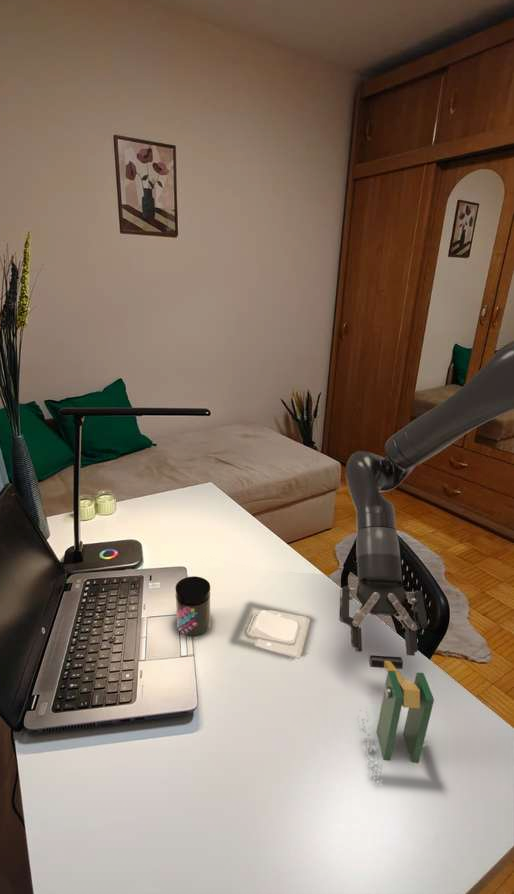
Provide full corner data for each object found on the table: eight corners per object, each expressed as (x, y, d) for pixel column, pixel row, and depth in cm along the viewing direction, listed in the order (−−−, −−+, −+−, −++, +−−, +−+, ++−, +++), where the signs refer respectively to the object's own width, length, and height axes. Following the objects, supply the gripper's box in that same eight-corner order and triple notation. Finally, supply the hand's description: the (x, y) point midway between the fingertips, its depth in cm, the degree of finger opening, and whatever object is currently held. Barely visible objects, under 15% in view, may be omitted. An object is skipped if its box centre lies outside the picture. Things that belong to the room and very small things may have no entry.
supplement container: (175, 620, 91) (173, 578, 87) (207, 615, 92) (207, 574, 89) (178, 645, 85) (177, 601, 81) (213, 639, 86) (213, 596, 82)
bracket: (361, 719, 71) (372, 654, 66) (412, 723, 70) (427, 657, 65) (375, 786, 62) (390, 715, 57) (434, 791, 61) (454, 720, 56)
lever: (368, 666, 74) (369, 651, 74) (399, 668, 73) (399, 653, 73) (392, 706, 60) (393, 688, 60) (430, 709, 60) (430, 691, 60)
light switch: (250, 596, 93) (310, 607, 89) (250, 612, 94) (310, 624, 90) (233, 632, 83) (300, 646, 79) (234, 649, 85) (300, 664, 81)
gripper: (342, 549, 77) (345, 650, 71) (425, 554, 76) (437, 657, 70) (335, 557, 84) (337, 650, 77) (411, 562, 83) (420, 656, 76)
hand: (384, 653), depth 73 cm, fingers open, 8 cm apart
